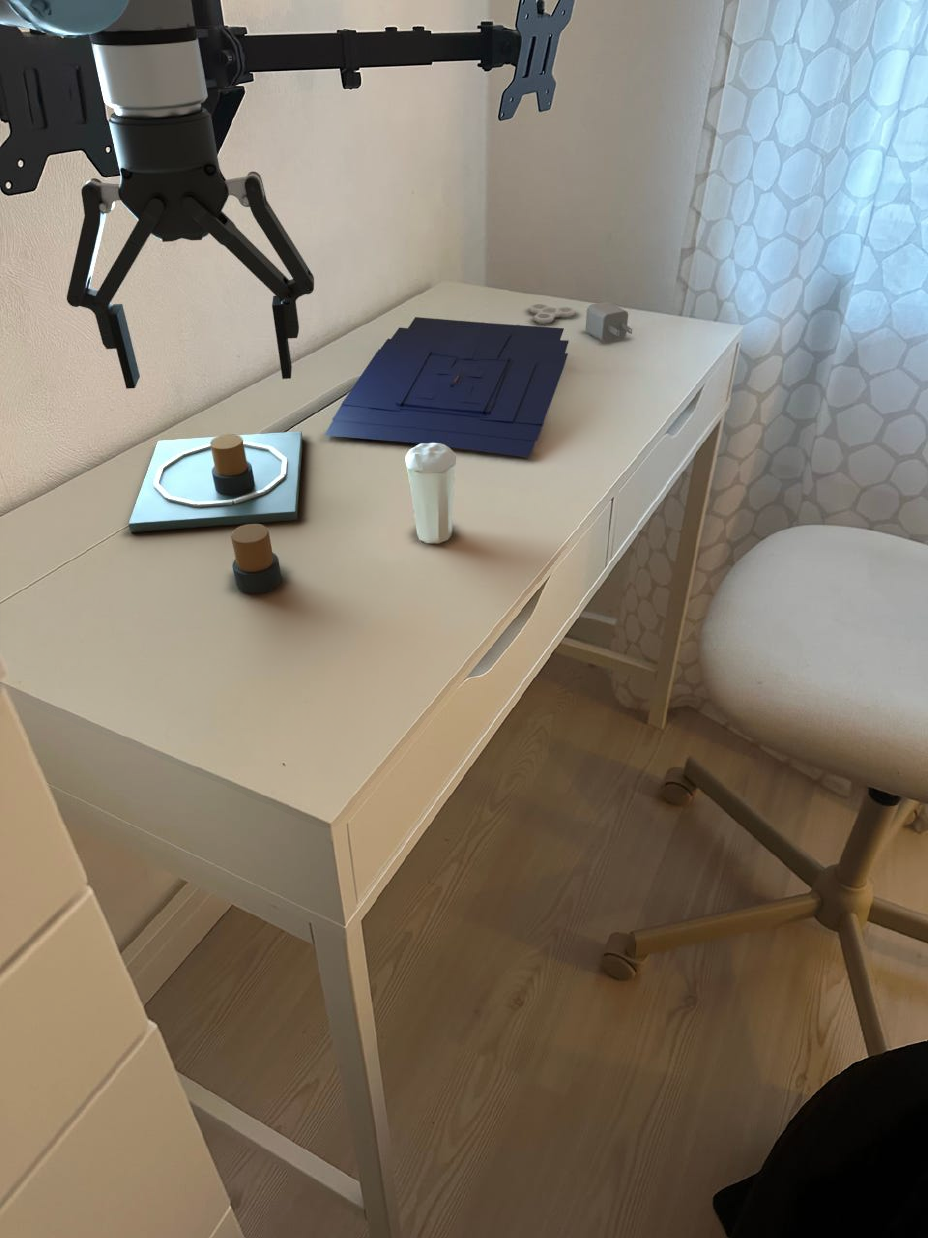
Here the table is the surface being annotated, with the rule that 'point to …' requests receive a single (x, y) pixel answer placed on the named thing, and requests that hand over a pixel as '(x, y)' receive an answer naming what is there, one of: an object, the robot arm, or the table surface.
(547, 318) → the fidget spinner
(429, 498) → the milkshake
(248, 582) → the stamp
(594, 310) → the usb wall charger
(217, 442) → the stamp
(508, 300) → the table surface
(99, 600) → the table surface
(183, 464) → the slate board
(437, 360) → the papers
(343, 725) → the table surface
